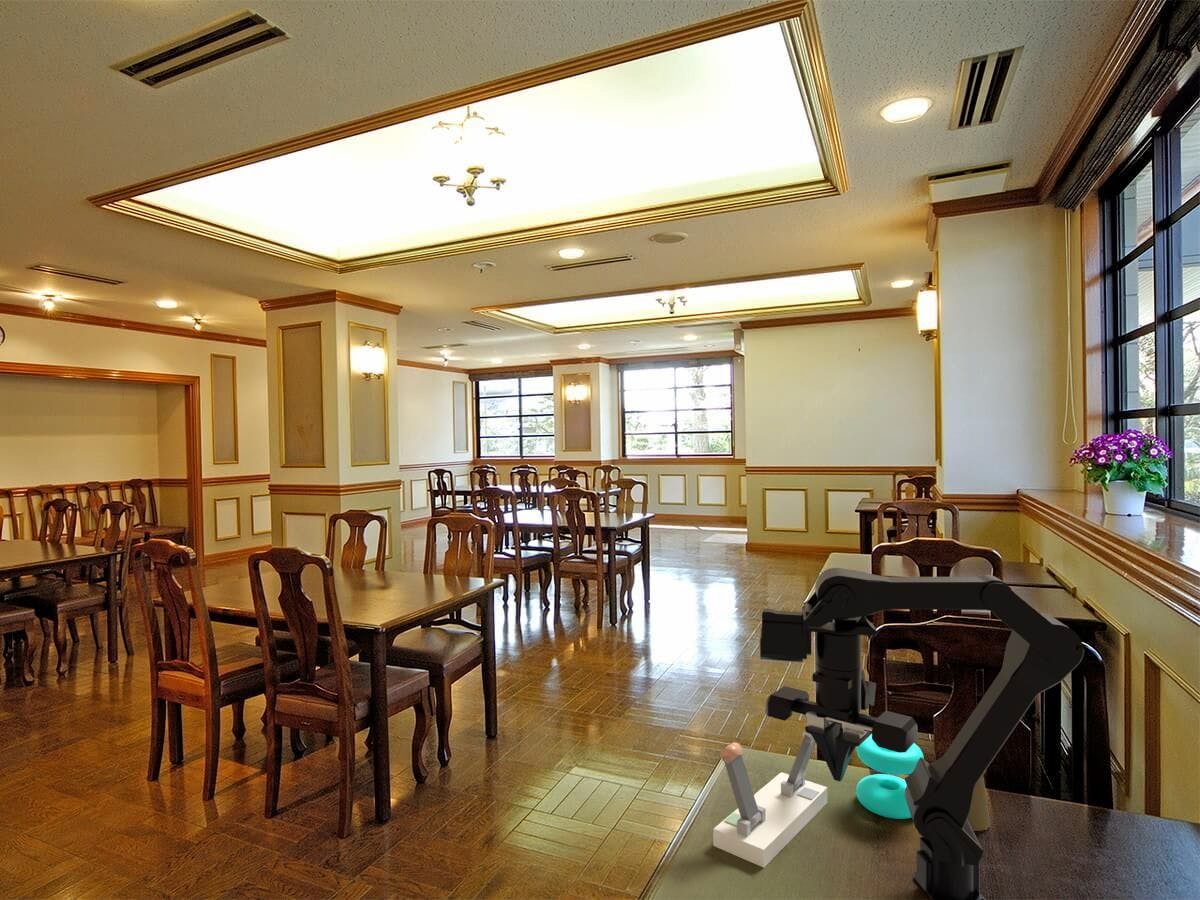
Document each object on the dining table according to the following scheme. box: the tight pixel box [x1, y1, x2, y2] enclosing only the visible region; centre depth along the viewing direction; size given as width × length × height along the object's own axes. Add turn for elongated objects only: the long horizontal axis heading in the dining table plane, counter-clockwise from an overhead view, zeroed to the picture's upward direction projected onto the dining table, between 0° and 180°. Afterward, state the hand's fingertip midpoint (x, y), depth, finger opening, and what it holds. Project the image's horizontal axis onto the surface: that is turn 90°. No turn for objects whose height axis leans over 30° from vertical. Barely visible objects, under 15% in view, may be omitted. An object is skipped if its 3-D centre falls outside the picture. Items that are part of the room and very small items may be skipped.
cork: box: [968, 768, 991, 832], centre depth 106 cm, size 6×6×11 cm
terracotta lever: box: [719, 741, 761, 829], centre depth 101 cm, size 2×3×11 cm, turn 140°
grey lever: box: [786, 730, 817, 790], centre depth 110 cm, size 2×3×11 cm, turn 140°
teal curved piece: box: [855, 733, 925, 820], centre depth 110 cm, size 10×10×10 cm
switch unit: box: [712, 772, 828, 868], centre depth 105 cm, size 8×22×4 cm, turn 140°
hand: (838, 779), depth 93 cm, fingers closed
